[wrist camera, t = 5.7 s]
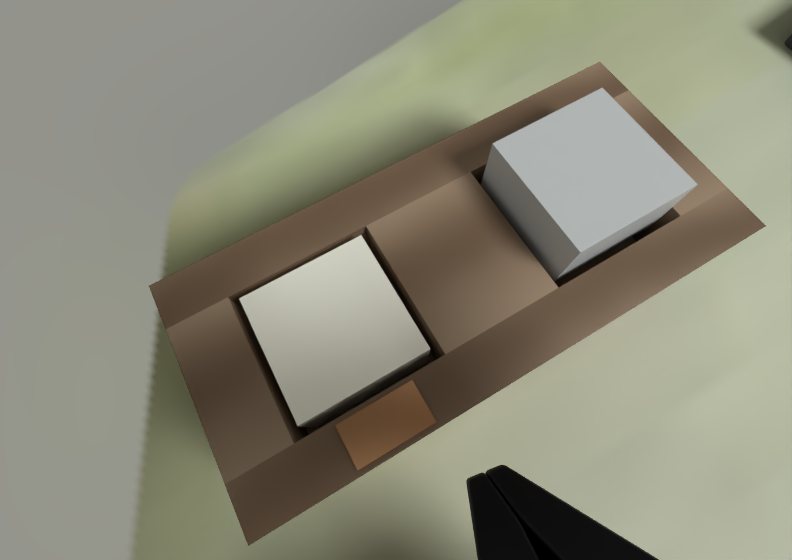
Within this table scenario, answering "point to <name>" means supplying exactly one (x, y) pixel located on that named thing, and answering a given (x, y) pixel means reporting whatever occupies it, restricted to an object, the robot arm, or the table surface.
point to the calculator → (789, 42)
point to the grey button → (581, 182)
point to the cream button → (334, 333)
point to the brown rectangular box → (420, 304)
